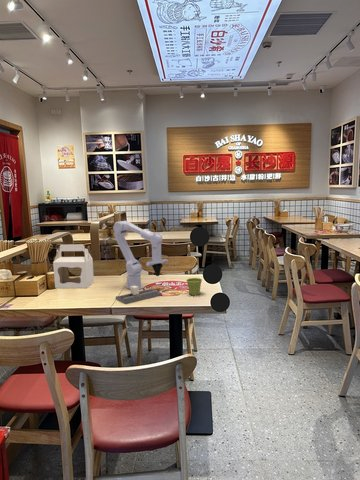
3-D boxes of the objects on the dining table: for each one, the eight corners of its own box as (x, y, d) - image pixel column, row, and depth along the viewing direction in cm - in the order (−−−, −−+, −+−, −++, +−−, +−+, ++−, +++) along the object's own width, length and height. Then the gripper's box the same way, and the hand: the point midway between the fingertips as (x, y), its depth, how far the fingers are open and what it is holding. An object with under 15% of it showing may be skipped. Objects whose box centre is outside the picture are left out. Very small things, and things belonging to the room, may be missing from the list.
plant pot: (188, 297, 195) (188, 282, 194) (185, 292, 204) (184, 278, 203) (204, 295, 197) (203, 281, 195) (200, 291, 206) (199, 277, 205)
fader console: (115, 299, 195) (115, 295, 194) (150, 291, 209) (150, 287, 209) (125, 304, 185) (125, 299, 185) (161, 295, 199) (161, 291, 199)
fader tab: (130, 294, 196) (130, 286, 195) (135, 293, 198) (134, 285, 197) (134, 296, 193) (134, 287, 192) (139, 295, 194) (138, 286, 194)
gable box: (94, 282, 232) (91, 242, 228) (87, 288, 219) (84, 245, 215) (63, 282, 234) (60, 243, 230) (54, 288, 221) (51, 246, 217)
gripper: (150, 256, 199) (151, 278, 201) (170, 253, 208) (170, 274, 210) (143, 255, 205) (144, 276, 206) (163, 251, 213) (164, 272, 215)
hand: (157, 275), depth 208 cm, fingers closed
